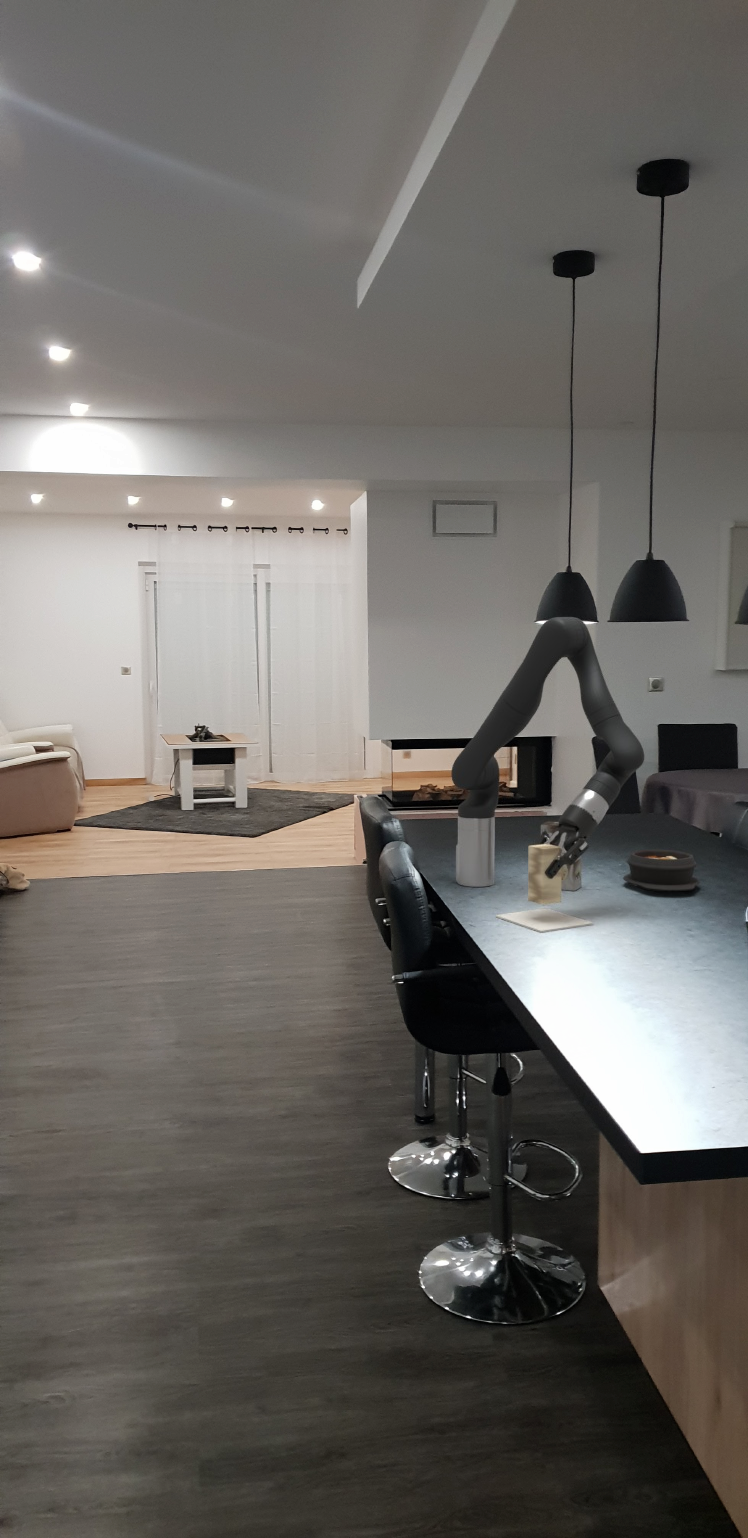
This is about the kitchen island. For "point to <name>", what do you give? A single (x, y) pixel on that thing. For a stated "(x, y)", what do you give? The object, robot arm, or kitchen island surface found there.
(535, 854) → the birch block
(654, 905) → the kitchen island surface
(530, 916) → the felt mat
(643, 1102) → the kitchen island surface
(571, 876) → the coffee box
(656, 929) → the kitchen island surface
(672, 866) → the casserole
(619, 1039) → the kitchen island surface
